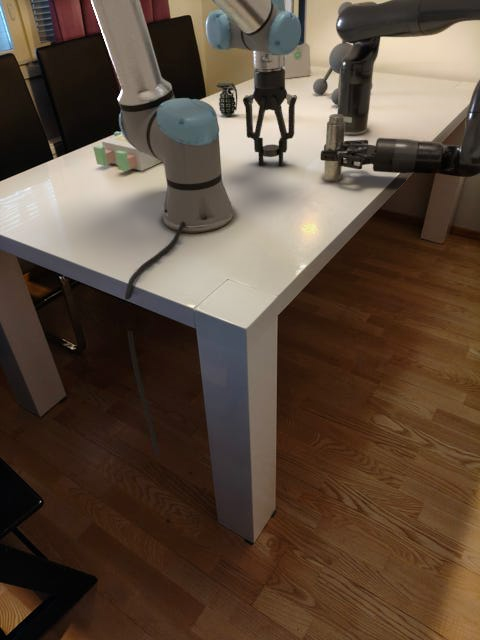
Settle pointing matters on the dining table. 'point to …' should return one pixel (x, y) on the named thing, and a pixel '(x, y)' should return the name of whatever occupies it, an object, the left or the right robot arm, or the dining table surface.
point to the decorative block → (122, 154)
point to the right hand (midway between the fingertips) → (322, 151)
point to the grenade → (227, 99)
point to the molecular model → (334, 65)
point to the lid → (270, 150)
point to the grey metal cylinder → (334, 145)
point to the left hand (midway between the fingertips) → (271, 163)
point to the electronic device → (300, 57)
